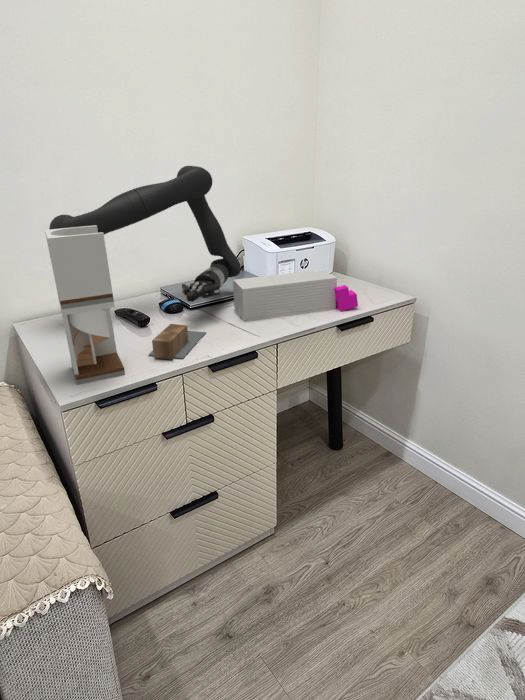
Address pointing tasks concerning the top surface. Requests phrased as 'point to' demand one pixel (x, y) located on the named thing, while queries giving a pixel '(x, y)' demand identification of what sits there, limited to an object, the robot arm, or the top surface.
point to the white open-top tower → (85, 301)
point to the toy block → (345, 298)
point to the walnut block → (170, 341)
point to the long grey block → (284, 294)
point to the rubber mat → (193, 339)
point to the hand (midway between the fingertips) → (190, 298)
